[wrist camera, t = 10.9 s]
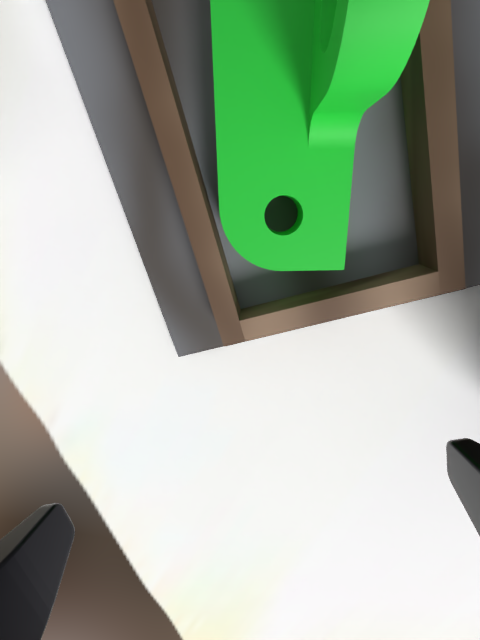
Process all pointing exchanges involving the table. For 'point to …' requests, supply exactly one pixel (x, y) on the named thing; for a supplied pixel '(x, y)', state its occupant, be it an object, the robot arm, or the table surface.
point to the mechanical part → (299, 115)
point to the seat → (281, 213)
